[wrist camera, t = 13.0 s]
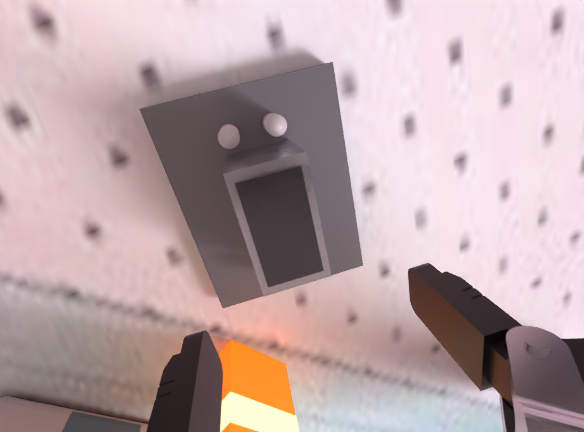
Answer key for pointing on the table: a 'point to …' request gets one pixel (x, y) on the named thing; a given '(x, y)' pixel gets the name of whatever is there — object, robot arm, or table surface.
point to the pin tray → (247, 135)
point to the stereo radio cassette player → (57, 419)
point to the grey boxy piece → (278, 214)
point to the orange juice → (255, 392)
